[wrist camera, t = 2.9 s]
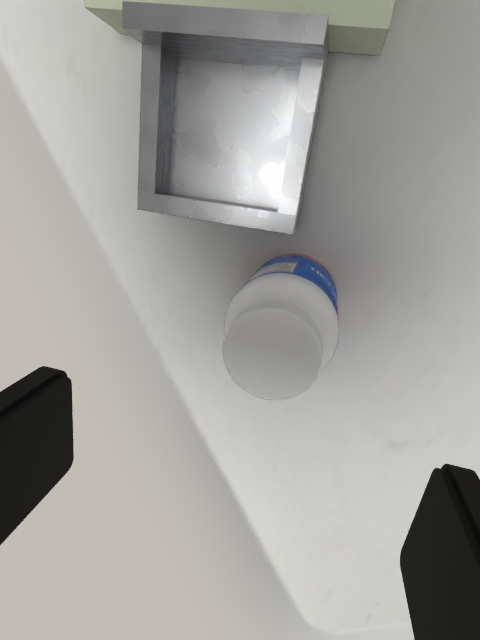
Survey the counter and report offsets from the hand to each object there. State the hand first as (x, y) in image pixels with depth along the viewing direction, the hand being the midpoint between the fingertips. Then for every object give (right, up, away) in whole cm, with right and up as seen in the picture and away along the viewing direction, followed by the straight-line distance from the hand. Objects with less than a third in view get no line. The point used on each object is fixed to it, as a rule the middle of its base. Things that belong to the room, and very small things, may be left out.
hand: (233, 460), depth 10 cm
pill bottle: (+4, +5, +15) cm, 16 cm away
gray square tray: (0, +14, +12) cm, 18 cm away
